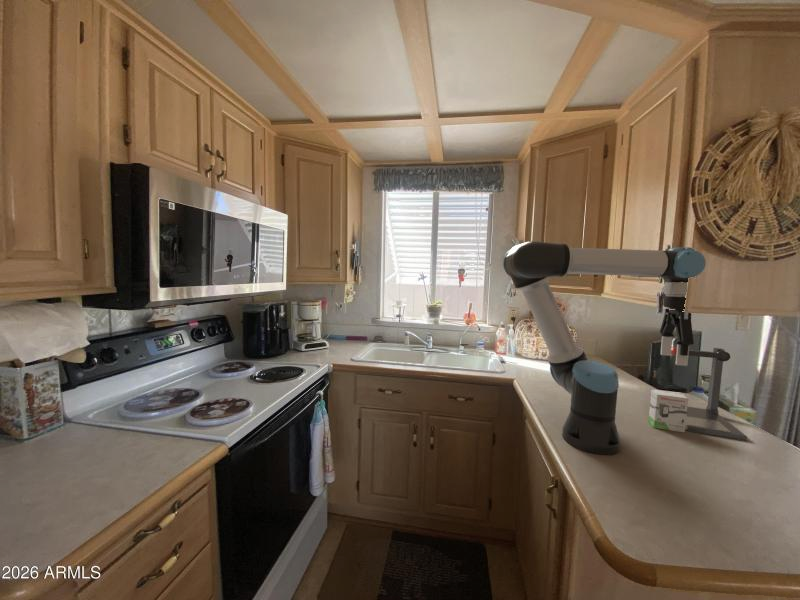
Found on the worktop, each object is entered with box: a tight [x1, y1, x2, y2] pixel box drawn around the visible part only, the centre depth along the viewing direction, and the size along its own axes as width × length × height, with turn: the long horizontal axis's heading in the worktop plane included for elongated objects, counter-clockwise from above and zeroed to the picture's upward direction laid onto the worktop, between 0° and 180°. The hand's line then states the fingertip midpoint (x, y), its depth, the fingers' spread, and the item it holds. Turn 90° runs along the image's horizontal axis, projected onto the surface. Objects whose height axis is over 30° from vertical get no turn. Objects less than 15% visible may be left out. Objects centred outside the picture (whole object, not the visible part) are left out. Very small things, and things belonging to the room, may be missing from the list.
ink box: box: [648, 389, 689, 433], centre depth 107 cm, size 9×5×12 cm, turn 71°
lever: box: [671, 346, 731, 362], centre depth 116 cm, size 3×17×4 cm, turn 67°
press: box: [685, 347, 748, 442], centre depth 111 cm, size 21×14×25 cm
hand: (673, 360), depth 106 cm, fingers open, 13 cm apart
